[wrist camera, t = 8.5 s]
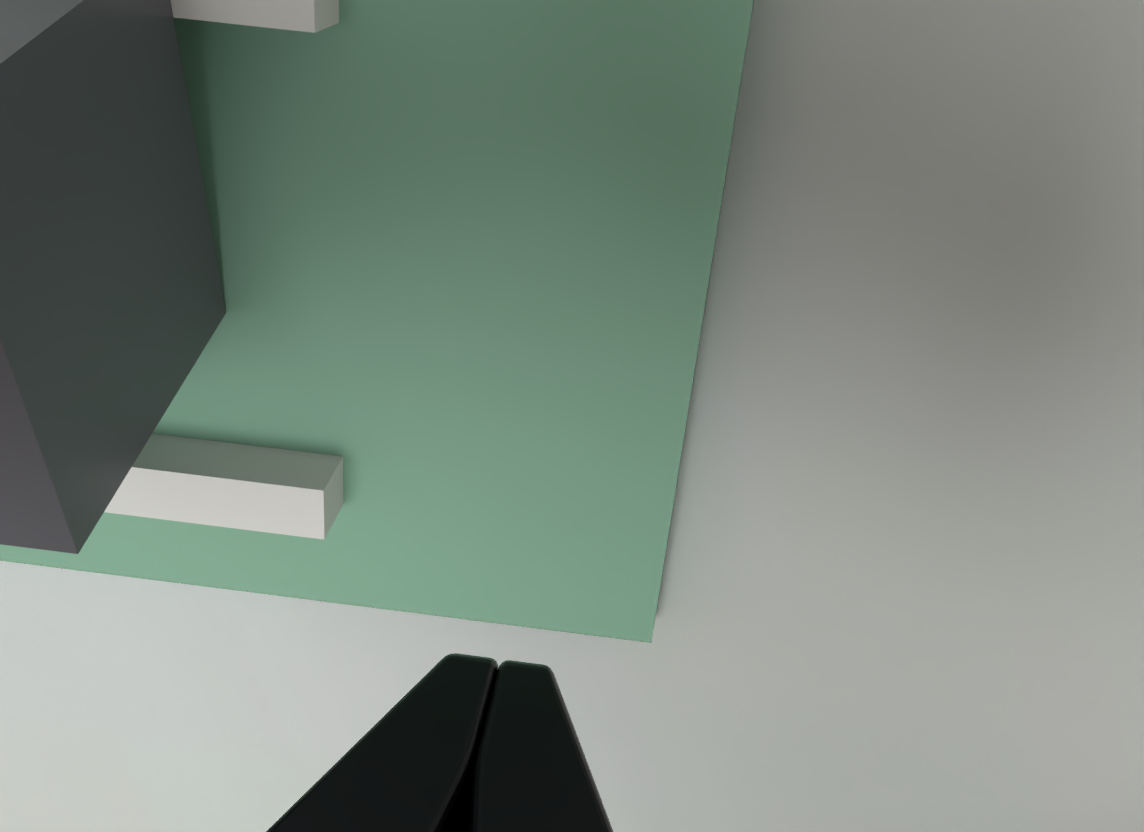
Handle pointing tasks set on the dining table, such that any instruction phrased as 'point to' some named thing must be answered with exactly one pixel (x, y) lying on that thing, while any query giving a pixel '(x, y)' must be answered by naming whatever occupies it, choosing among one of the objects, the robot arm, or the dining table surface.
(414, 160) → the board
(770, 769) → the dining table surface
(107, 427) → the block
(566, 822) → the robot arm
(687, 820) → the dining table surface
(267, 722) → the dining table surface
